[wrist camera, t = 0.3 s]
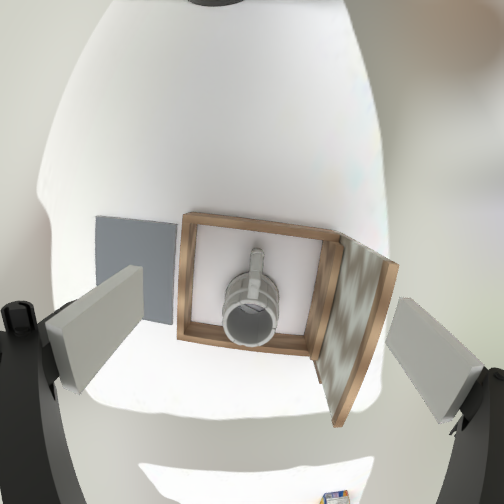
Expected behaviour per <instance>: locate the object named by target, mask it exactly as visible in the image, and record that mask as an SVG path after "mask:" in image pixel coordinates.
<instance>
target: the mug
mask: <svg viewBox="0 0 504 504" xmlns="http://www.w3.org/2000/svg"><path fill="white" fill-rule="evenodd" d="M263 259H264V252H263V251H262V249H258V248H254V249H253V250H252V251H251V255H250V270H249V272H248V273H245V274H242V275H240V276H238V277H236V278H235V279H233V280H232V281H231V282H230V284H229V286H228V288H227V290H226V294H225V303H224V306H223V311H222V315H223V320H222V323H223V328H224V331H225V334H226V335H227V337H228V338H229V339H230V340H231V341H232V342H234V343H236V344H238V345H245V346H246V347H257V346H258V345H259V346H261V345H263V344H265V343H267V342H268V341H269V340H270V339H271V338H272V337H273V335H274V334H275V330H276V328H277V321H278V318H279V308H278V307H279V306H278V303H279V294H278V293H279V292H278V289H277V288H276V286H275V284H274V283H273V282H272V281H271V280H270V279H269V278H268V277H266V276H265V275H263V274H262V272H263V271H262V270H263ZM244 304H255V305H259V306H261V307H263V308H265V310H263V311H260V312H258V311H256V310H254V309H252V308H250V307H248V306H246V305H244ZM237 306H240V307H241V308H242V309H243V310H244V311H245V312H244V311H243V310H241V309H239V307H237Z"/></svg>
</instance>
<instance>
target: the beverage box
mask: <svg viewBox="0 0 504 504" xmlns="http://www.w3.org/2000/svg"><path fill="white" fill-rule="evenodd" d="M320 504H350V501H349V497H348V492H347V490H345V491H338V492H331V493H325V494H324V496H323V498H322V500H321V502H320Z"/></svg>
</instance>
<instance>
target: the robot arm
mask: <svg viewBox="0 0 504 504" xmlns="http://www.w3.org/2000/svg"><path fill="white" fill-rule="evenodd" d="M188 1H190V2H192V3H195V4H199V5H205V6H221V5H228V4H233V3H237V2H240V1H243V0H188ZM1 314H2V318H3V322H4V326H5V329H6V332H4V331H0V489H1V495H2V501H3V504H87V503H86V501H85V498H84V496H83V493H82V491H81V488H80V485H79V482H78V479H77V476H76V473H75V470H74V467H73V464H72V460H71V457H70V454H69V450H68V446H67V443H66V438H65V434H64V429H63V425H62V420H61V415H60V409H59V403H58V397H57V390H56V386H55V384H54V381H55V380H56V379H57V378H58V377H60V380H61V383H62V385H63V388H64V389H66V390H69V391H71V392H73V393H75V394H78V395H80V394H81V392H82V391H83V390H84V389H85V388H86V386H87V385H88V384H89V383H90V381H91V380H92V379H93V378H94V376H95V375H96V374H97V373H98V371H99V370H100V369H101V368H102V366H103V365H104V364H105V363H106V361H107V360H108V359H109V358H110V357H111V355H112V354H113V353H114V352H115V350H116V349H117V348H118V347H119V346H120V344H121V343H122V342H123V341H124V340H125V338H126V337H127V336H128V335H129V334H130V333H131V331H132V330H133V329H134V328H135V327H136V325H137V324H138V323H139V322H140V321H141V320H142V318H143V317H144V301H143V267H140V266H134V265H129V266H127V267H126V268H124V269H122V270H121V271H119V272H118V273H116V274H115V275H113V276H112V277H110V278H109V279H107V280H106V281H104V282H103V283H101V284H100V285H98V286H97V287H95V288H94V289H92V290H91V291H89V292H88V293H86V294H85V295H83V296H82V297H80V298H79V299H77V300H74V301H71V302H68V303H66V304H65V305H63V306H62V307H60V309H58V310H56V311H55V312H54V313H52V314H51V315H49V316H48V317H46V318H45V319H43V320H42V321H41V322H39V323H38V324H37V321H36V316H35V312H34V307H33V305H32V304H31V303H30V302H27V301H15V302H11V303H8V304H6V305H5V306H4V307H3V308H2V309H1ZM385 343H386V345H387V346H388V348H389V349H390V350H391V352H392V353H393V355H394V356H395V358H396V359H397V361H398V362H399V364H400V365H401V367H402V368H403V369H404V371H405V373H406V374H407V376H408V377H409V378H410V380H411V382H412V383H413V385H414V386H415V388H416V389H417V391H418V392H419V394H420V395H421V397H422V398H423V400H424V402H425V403H426V405H427V406H428V407H429V409H430V411H431V412H432V414H433V416H434V417H435V419H436V421H437V422H438V424H442V423H445V422H449V421H452V420H453V418H454V417H455V415H456V414H457V412H458V411H459V409H460V411H461V412H462V414H463V415H462V416H461V418H460V419H459V421H458V422H457V423H456V425H455V426H454V428H453V429H452V430H451V432H450V434H449V435H452V433H453V432H454V431H456V434H455V435H454V437H455V441H454V445H453V450H452V454H451V458H450V462H449V465H448V469H447V473H446V476H445V479H444V482H443V485H442V488H441V491H440V494H439V497H438V500H437V502H436V504H504V370H502V369H499V368H491V369H489V370H488V369H487V368H486V367H485V366H484V364H483V363H482V362H481V361H480V360H479V359H478V358H477V357H476V356H475V355H474V354H472V352H471V351H469V350H468V349H467V348H466V347H465V346H464V345H463V344H462V343H461V342H460V341H459V340H458V339H457V338H456V337H455V336H454V335H452V334H451V333H450V332H449V331H448V330H447V329H446V328H445V327H443V326H442V325H441V324H440V323H439V322H438V321H437V320H436V319H435V318H433V317H432V316H431V315H430V314H429V313H428V312H426V311H425V310H424V309H423V308H422V307H421V306H420V305H418V304H417V303H416V302H415V301H414V300H413V299H411V298H404V297H400V298H399V301H398V305H397V308H396V311H395V314H394V317H393V321H392V323H391V327H390V330H389V333H388V335H387V338H386V341H385Z"/></svg>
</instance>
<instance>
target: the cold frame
mask: <svg viewBox="0 0 504 504" xmlns="http://www.w3.org/2000/svg"><path fill="white" fill-rule="evenodd" d="M197 224H201V225H210V226H218V227H227V228H235V229H243V230H251V231H258V232H266V233H274V234H281V235H289V236H296V237H303V238H311V239H318V240H323V244H322V249H321V255H320V261H319V266H318V272H317V277H316V282H315V287H314V292H313V297H312V302H311V307H310V311H309V316H308V321H307V325H306V329H305V334H304V336H301V335H290V334H280V333H275V334H274V335H273V337H272V338H271V339H270V340H269V341H268V342H267V343H265V344H263V345H261V346H259V345H258V346H257V347H246V346H245V345H238V344H236V343H234V342H232V341H231V340H230V339H229V338H228V337H227V335H226V334H225V331H224V328H223V326H217V325H210V324H204V323H198V322H192V321H191V306H192V287H193V271H194V257H195V245H196V233H197ZM398 269H399V264H397V263H395V262H393V261H391V260H389V259H388V258H386V257H384V256H382V255H381V254H379V253H377V252H375V251H374V250H372V249H370V248H368V247H366V246H365V245H363V244H361V243H359V242H357V241H356V240H354V239H352V238H350V237H348V236H346V235H345V234H343V233H341V232H339V231H335V230H333V231H332V230H328V229H322V228H315V227H308V226H301V225H294V224H287V223H279V222H272V221H264V220H257V219H249V218H241V217H232V216H224V215H215V214H206V213H197V212H190V213H186V214H183V219H182V231H181V245H180V260H179V279H178V306H177V340H183V341H188V342H194V343H199V344H205V345H212V346H218V347H225V348H232V349H239V350H247V351H255V352H264V353H274V354H284V355H296V356H310V360H313V362H314V366H315V369H316V373H317V377H318V380H319V384H322V385H323V388H324V392H325V395H326V399H327V403H328V406H329V410H330V413H331V417H332V424H333V427H342V426H343V424H344V422H345V420H346V418H347V416H348V414H349V412H350V410H351V408H352V405H353V403H354V401H355V399H356V396H357V394H358V392H359V389H360V387H361V385H362V382H363V380H364V377H365V375H366V372H367V370H368V367H369V364H370V362H371V359H372V356H373V354H374V351H375V348H376V345H377V342H378V339H379V336H380V333H381V330H382V327H383V324H384V321H385V318H386V314H387V311H388V307H389V304H390V300H391V297H392V293H393V289H394V285H395V281H396V277H397V273H398Z"/></svg>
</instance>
